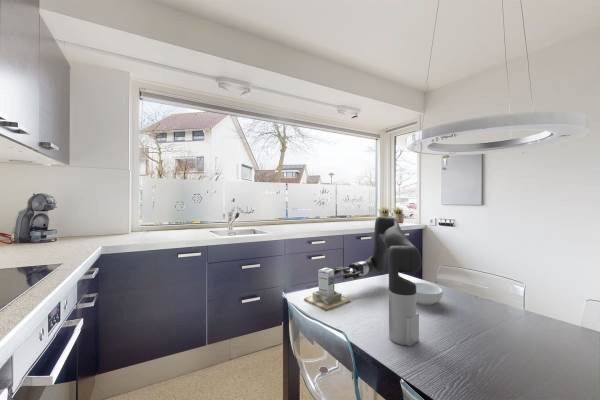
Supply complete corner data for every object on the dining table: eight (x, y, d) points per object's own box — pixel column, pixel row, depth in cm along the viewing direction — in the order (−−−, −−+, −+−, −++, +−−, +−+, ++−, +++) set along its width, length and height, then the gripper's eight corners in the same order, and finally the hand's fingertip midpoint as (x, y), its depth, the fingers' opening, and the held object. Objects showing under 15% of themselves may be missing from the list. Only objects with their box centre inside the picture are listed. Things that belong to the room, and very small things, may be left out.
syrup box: (328, 301, 127) (328, 271, 126) (318, 298, 130) (318, 269, 130) (334, 298, 131) (334, 269, 131) (324, 295, 135) (324, 267, 135)
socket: (350, 301, 129) (350, 293, 129) (326, 310, 119) (326, 302, 119) (327, 292, 141) (327, 285, 141) (304, 300, 132) (304, 292, 132)
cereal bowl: (451, 307, 122) (451, 291, 122) (419, 311, 118) (419, 295, 118) (425, 294, 138) (425, 280, 138) (397, 297, 134) (397, 283, 134)
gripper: (348, 259, 151) (328, 264, 141) (369, 264, 140) (348, 270, 130) (348, 272, 151) (328, 278, 141) (369, 279, 140) (348, 285, 130)
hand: (338, 274), depth 135 cm, fingers open, 8 cm apart
